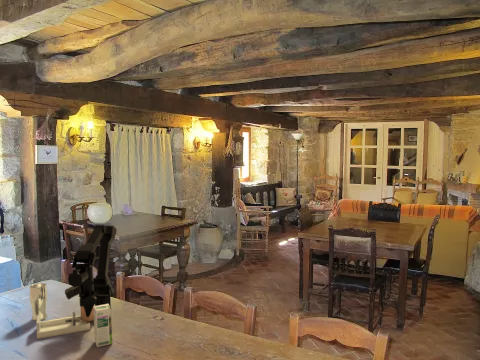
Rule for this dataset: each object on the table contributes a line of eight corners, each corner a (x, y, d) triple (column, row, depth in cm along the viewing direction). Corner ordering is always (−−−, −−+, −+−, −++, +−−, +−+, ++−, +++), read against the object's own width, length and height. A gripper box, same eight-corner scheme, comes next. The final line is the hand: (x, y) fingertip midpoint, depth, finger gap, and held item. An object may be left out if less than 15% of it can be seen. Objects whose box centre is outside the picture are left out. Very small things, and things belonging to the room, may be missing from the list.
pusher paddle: (75, 320, 179) (75, 311, 179) (76, 328, 172) (75, 319, 171) (65, 322, 177) (65, 313, 177) (65, 330, 170) (65, 320, 170)
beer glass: (35, 323, 179) (34, 289, 178) (27, 319, 183) (26, 286, 182) (51, 317, 185) (49, 285, 183) (43, 314, 189) (41, 281, 187)
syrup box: (97, 347, 157) (95, 310, 156) (94, 341, 162) (93, 305, 161) (112, 344, 160) (111, 308, 159) (109, 338, 165) (108, 302, 164)
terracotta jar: (94, 314, 181) (93, 297, 180) (95, 320, 176) (94, 301, 175) (80, 317, 179) (79, 299, 178) (80, 322, 173) (80, 304, 173)
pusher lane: (88, 319, 183) (88, 306, 182) (90, 329, 172) (89, 315, 172) (38, 327, 175) (37, 313, 174) (37, 338, 165) (36, 324, 164)
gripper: (65, 274, 181) (66, 309, 182) (65, 288, 164) (67, 326, 165) (92, 271, 185) (93, 305, 187) (95, 284, 168) (96, 321, 170)
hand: (87, 314), depth 177 cm, fingers closed on terracotta jar, 5 cm apart
